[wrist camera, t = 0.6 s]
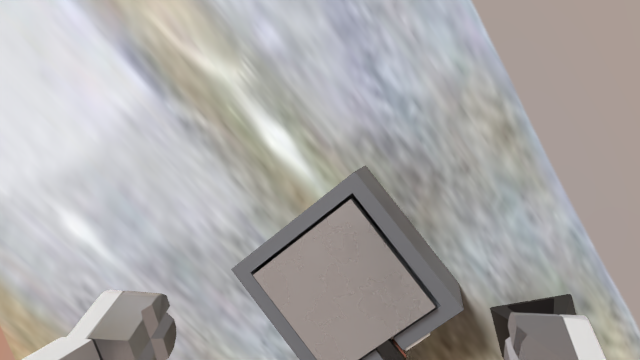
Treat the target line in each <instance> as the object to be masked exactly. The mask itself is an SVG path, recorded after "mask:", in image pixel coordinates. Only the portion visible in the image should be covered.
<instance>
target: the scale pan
mask: <svg viewBox="0 0 640 360" xmlns="http://www.w3.org/2000/svg"><path fill="white" fill-rule="evenodd" d="M253 276H254V278H255V279H256V280H257V282H258V283H259V284H260V285H261V287H262V288H263V289H264V291H265V292H266V293H267V295H268V296H269V297H270V299H271V300H272V301H273V303H274V304H275V305H276V307H277V308H278V309H279V310H280V312H281V313H282V314H283V316H284V317H285V318H286V320H287V321H288V322H289V324H290V325H291V326H292V328H293V329H294V330H295V331H296V333H297V334H298V335H299V337H300V338H301V339H302V341H303V342H304V343H305V345H306V346H307V347H308V349H309V350H310V351H311V352H312V354H313V355H314V356H315V358H316V359H317V360H358V359H360V358H361V357H363V356H364V355H366V354H367V353H369V352H370V351H372V350H373V349H375V348H377V349H378V350H379V352H380V353H381V354H382V356H383V357H384V358H385V359H386V360H406V358H405V357H404V355H403V354H402V353H401V351H400V350H399V349H398V348H397V346H396V345H395V344H394V342H393V341H392V340H391V339H390V338H391V337H392V336H394V335H395V334H397V333H398V332H400V331H401V330H403V329H404V328H406V327H407V326H409V325H410V324H412V323H413V322H415V321H416V320H418V319H419V318H421V317H422V316H424V315H425V314H427V313H428V312H429V311H431V310H432V309H434V308H435V307H436V303H435V302H434V301H433V299H432V298H431V297H430V296H429V294H428V293H427V292H426V290H425V289H424V288H423V287H422V285H421V284H420V283H419V282H418V280H417V279H416V278H415V276H414V275H413V274H412V273H411V271H410V270H409V269H408V268H407V266H406V265H405V264H404V262H403V261H402V260H401V259H400V257H399V256H398V255H397V254H396V252H395V251H394V250H393V248H392V247H391V246H390V245H389V243H388V242H387V241H386V240H385V238H384V237H383V236H382V234H381V233H380V232H379V231H378V229H377V228H376V227H375V226H374V224H373V223H372V222H371V220H370V219H369V218H368V217H367V215H366V214H365V213H364V211H363V210H362V209H361V208H360V206H359V205H358V204H357V203H356V201H355V200H354V199H353V198H351V199H350V200H349V201H347V202H346V203H345V204H344V205H342V206H341V207H340V208H338V209H337V210H336V211H335V212H333V213H332V214H331V215H329V216H328V217H327V218H326V219H324V220H323V221H322V222H320V223H319V224H318V225H317V226H315V227H314V228H313V229H311V230H310V231H309V232H308V233H306V234H305V235H304V236H302V237H301V238H300V239H299V240H297V241H296V242H295V243H293V244H292V245H291V246H290V247H288V248H287V249H286V250H284V251H283V252H282V253H281V254H279V255H278V256H277V257H275V258H274V259H273V260H272V261H270V262H269V263H268V264H266V265H265V266H264V267H263V268H261V269H260V270H259V271H257V272H256V273H255V274H254V275H253Z"/></svg>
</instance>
